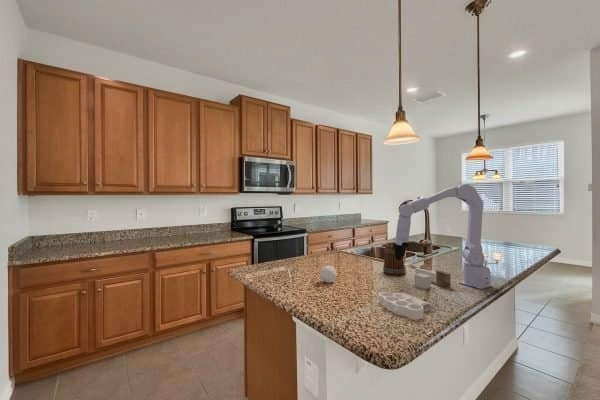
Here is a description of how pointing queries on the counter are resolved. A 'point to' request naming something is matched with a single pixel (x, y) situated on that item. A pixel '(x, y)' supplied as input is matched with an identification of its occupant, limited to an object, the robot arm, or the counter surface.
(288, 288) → the counter surface
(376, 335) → the counter surface
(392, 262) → the mug
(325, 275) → the ball
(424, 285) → the white small block
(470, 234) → the robot arm
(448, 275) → the wall
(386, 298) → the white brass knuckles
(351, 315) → the counter surface
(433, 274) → the door
